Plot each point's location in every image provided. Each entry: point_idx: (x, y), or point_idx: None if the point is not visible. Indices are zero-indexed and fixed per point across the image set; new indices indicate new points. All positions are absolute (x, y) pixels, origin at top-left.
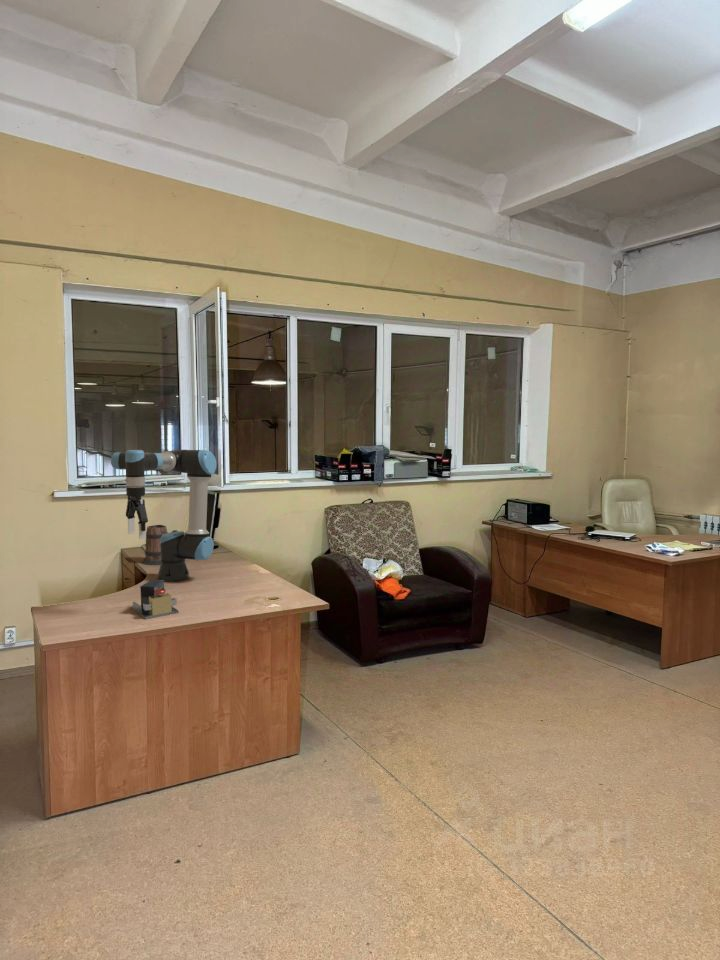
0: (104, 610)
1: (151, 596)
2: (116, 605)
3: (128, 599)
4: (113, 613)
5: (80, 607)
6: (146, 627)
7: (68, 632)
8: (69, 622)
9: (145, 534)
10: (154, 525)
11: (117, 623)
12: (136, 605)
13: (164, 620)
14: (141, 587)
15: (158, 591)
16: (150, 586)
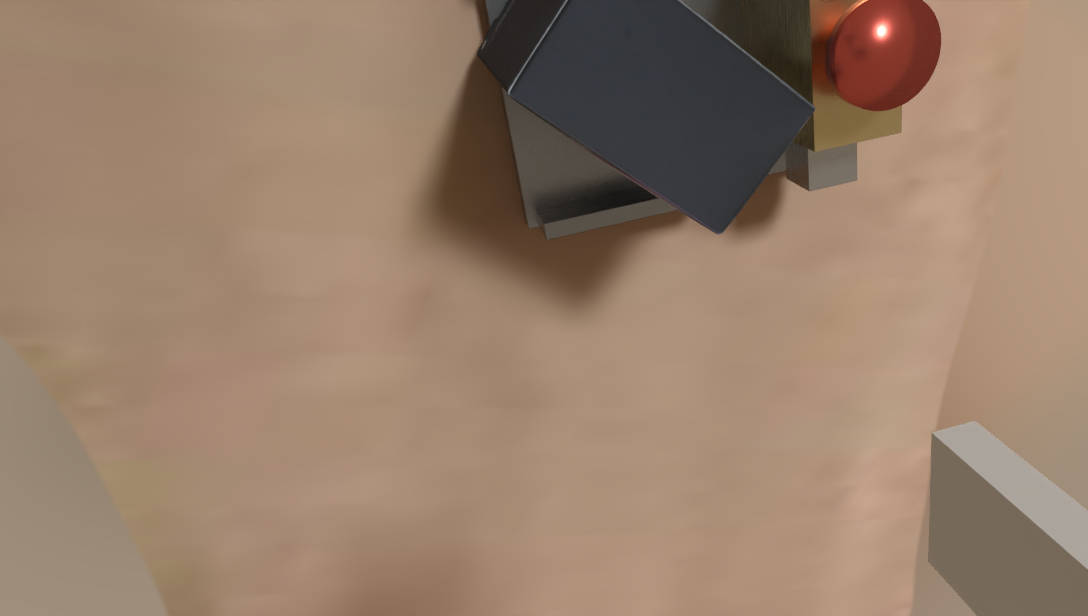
0: (460, 406)
1: (830, 128)
2: (356, 325)
3: (195, 224)
4: (564, 352)
5: (315, 548)
6: (984, 172)
7: (807, 572)
8: (630, 582)
9: (1051, 495)
10: None
11: (799, 337)
12: (640, 215)
13: None
14: (725, 221)
15: (913, 74)
16: (790, 141)
